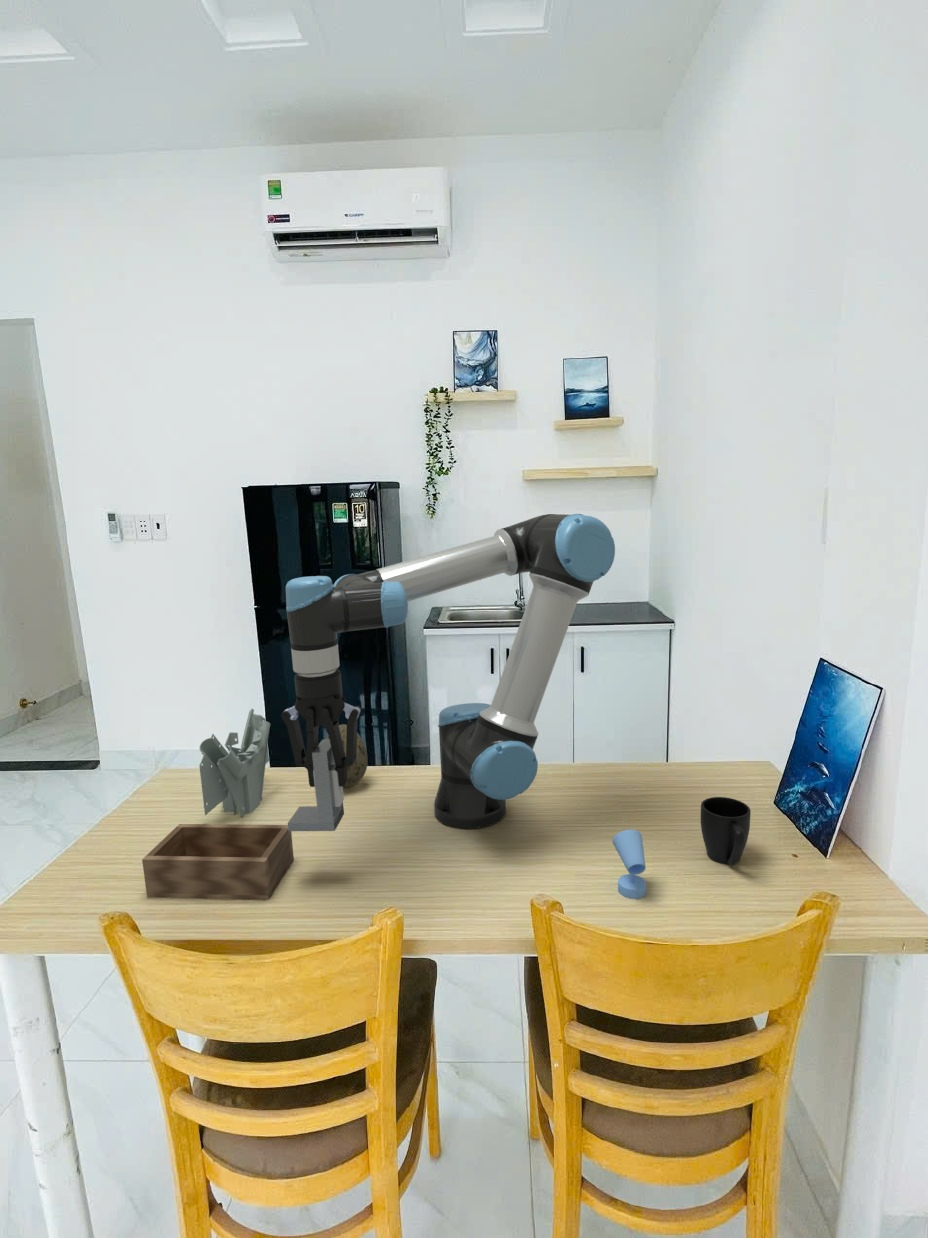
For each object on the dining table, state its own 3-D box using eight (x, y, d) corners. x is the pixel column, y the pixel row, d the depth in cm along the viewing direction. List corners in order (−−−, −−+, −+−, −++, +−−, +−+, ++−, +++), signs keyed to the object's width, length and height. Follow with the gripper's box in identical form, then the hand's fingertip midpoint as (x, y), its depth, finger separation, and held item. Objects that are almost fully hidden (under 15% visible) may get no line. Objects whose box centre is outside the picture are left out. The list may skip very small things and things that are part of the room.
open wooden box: (293, 859, 123) (290, 825, 122) (268, 899, 111) (264, 861, 110) (183, 858, 125) (179, 823, 124) (147, 897, 113) (142, 859, 112)
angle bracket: (344, 813, 117) (336, 738, 115) (334, 830, 112) (326, 752, 109) (300, 814, 118) (292, 739, 116) (288, 831, 112) (279, 753, 110)
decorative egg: (370, 793, 150) (366, 730, 148) (322, 799, 148) (317, 735, 145) (367, 774, 161) (363, 715, 158) (322, 780, 158) (317, 719, 156)
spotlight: (610, 878, 114) (622, 902, 107) (611, 824, 112) (622, 845, 105) (639, 876, 114) (652, 900, 107) (639, 822, 112) (653, 843, 106)
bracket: (225, 840, 132) (214, 744, 128) (192, 838, 133) (181, 743, 129) (285, 781, 158) (278, 701, 155) (257, 780, 159) (250, 700, 156)
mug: (711, 880, 112) (713, 828, 111) (694, 843, 124) (695, 796, 122) (762, 881, 111) (765, 829, 110) (740, 844, 123) (742, 796, 121)
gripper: (368, 663, 112) (379, 792, 117) (279, 666, 114) (293, 793, 118) (357, 675, 105) (370, 813, 110) (262, 678, 107) (278, 814, 111)
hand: (330, 802), depth 114 cm, fingers closed on angle bracket, 2 cm apart
